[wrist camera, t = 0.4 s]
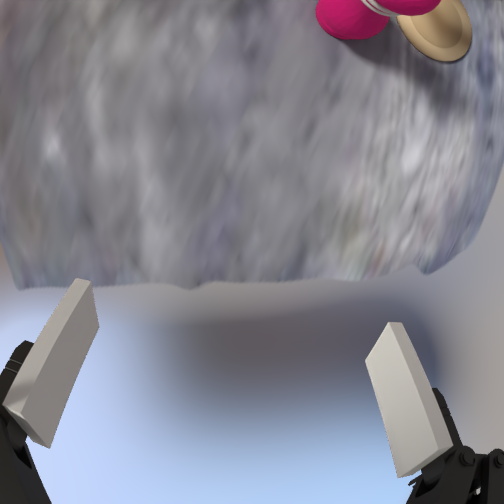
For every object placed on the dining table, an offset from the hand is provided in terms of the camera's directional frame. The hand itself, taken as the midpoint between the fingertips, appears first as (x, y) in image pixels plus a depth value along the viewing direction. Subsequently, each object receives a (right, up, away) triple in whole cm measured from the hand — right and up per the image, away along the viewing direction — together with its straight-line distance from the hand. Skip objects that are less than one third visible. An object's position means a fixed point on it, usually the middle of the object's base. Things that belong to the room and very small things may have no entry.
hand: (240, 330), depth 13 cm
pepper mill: (+11, +30, +14) cm, 35 cm away
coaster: (+23, +32, +12) cm, 42 cm away
